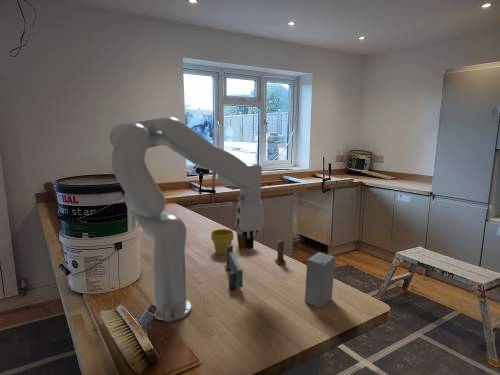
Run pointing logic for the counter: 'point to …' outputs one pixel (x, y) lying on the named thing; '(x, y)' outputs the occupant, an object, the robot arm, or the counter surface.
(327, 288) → the skincare box
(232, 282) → the gate posts
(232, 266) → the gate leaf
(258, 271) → the counter surface
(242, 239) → the disposable coffee cup
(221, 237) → the plant pot
